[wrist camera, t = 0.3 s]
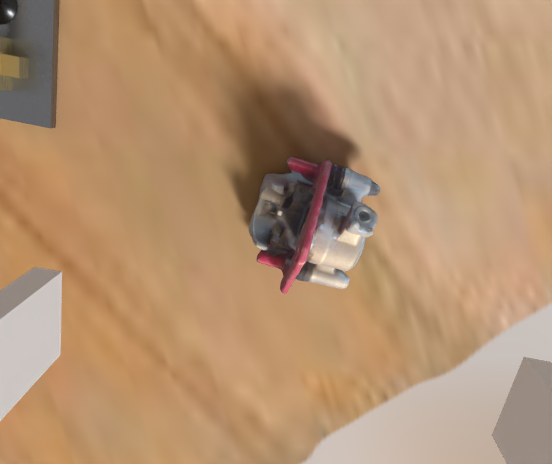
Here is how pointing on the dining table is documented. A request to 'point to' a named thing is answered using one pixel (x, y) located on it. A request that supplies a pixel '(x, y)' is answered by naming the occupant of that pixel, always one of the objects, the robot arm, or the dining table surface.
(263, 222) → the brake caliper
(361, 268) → the dining table surface
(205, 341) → the dining table surface
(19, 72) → the gauge rail
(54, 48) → the bolt plate
